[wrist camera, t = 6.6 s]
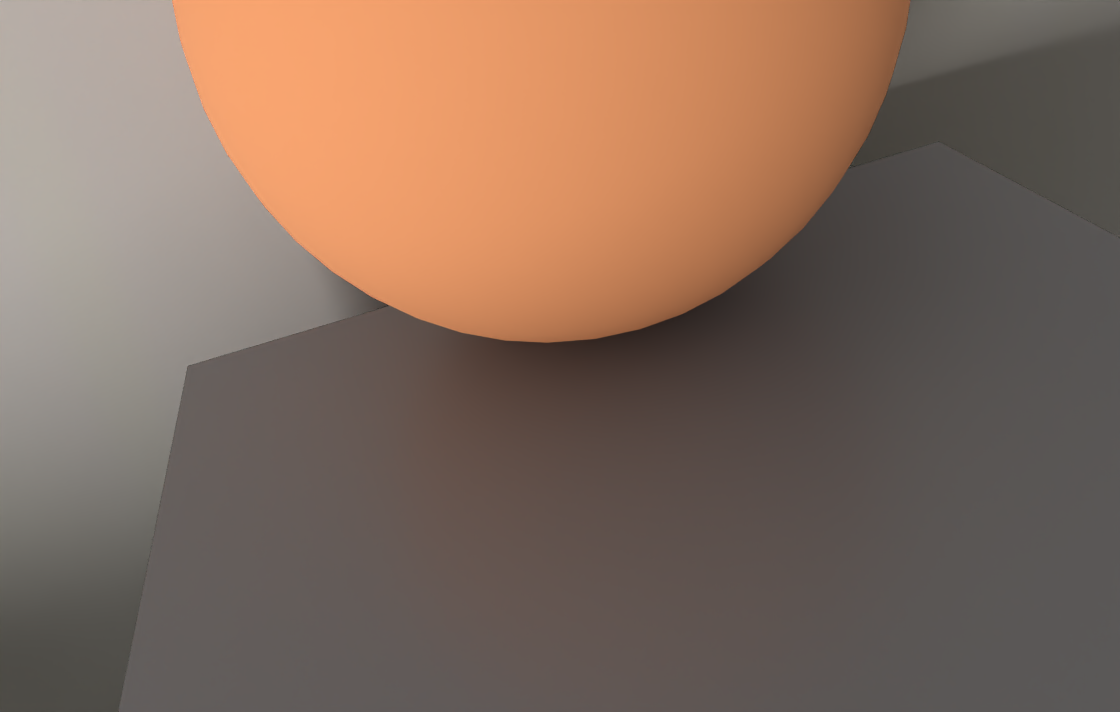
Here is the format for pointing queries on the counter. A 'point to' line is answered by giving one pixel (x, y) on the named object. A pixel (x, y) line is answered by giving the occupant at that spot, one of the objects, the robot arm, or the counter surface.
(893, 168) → the matte grey cuboid
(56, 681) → the counter surface
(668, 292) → the ball
